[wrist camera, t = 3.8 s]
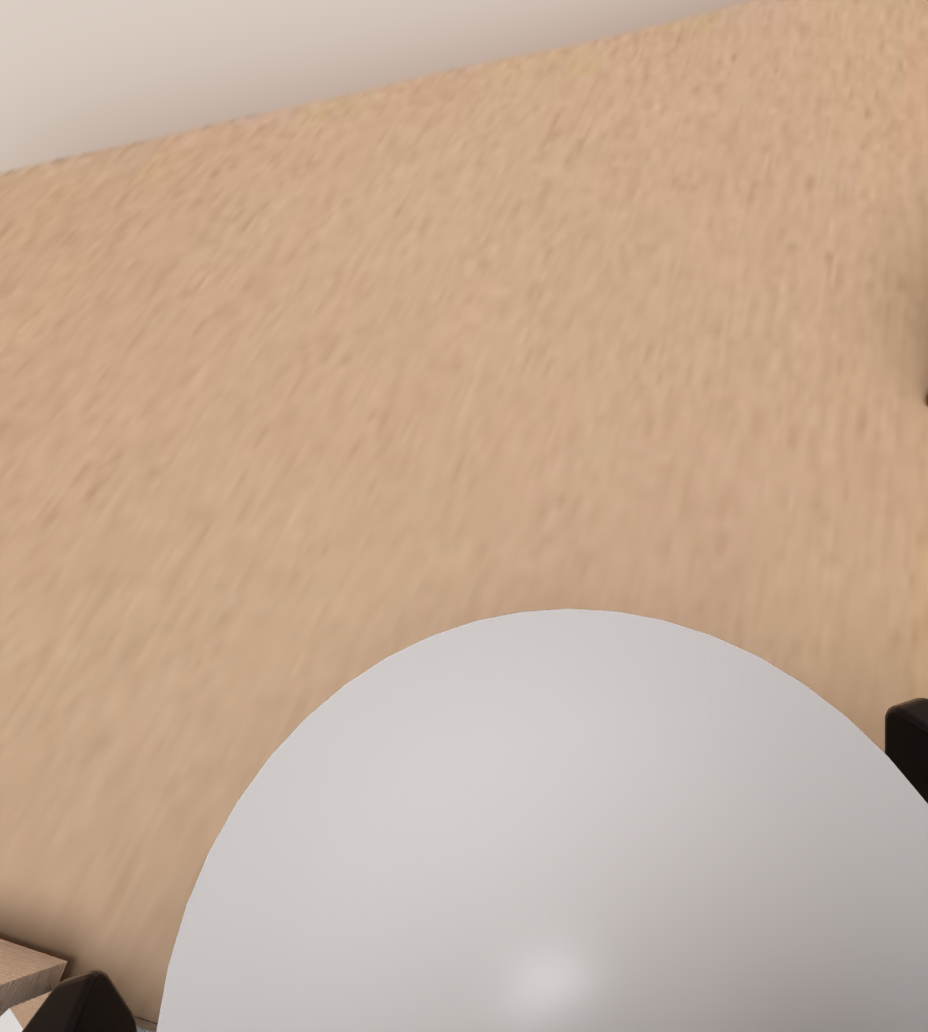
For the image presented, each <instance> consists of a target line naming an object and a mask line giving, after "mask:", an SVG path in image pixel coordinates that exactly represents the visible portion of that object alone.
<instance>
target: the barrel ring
mask: <svg viewBox="0 0 928 1032" xmlns="http://www.w3.org/2000/svg"><path fill="white" fill-rule="evenodd" d="M67 962H68V961H65V960H62V959H59V958H56V957H53V956H50V955H47V954H44V953H41V952H38V951H35V950H32V949H29V948H26V947H23V946H20V945H17V944H14V943H11V942H8V941H5V940H2V939H0V1032H22V1030H23V1029H24V1028H25V1026H26V1025H27V1024H28V1022H29V1021H30V1020H31V1018H32V1017H33V1016H34V1014H35V1013H36V1012H37V1010H38V1009H39V1007H40V1006H41V1005H42V1003H43V1002H44V1001H45V999H46V998H47V997H48V995H49V994H50V993H51V991H52V990H53V989H54V988H55V987H56V986H57V985H58V984H59V982H60V979H61V977H62V974H63V972H64V969H65V967H66V964H67ZM134 1019H135V1022H136V1027H137V1032H156V1030H157V1024H154V1023H151V1022H148V1021H145V1020H142V1019H139V1018H136V1017H134Z"/></svg>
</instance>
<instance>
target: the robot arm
mask: <svg viewBox="0 0 928 1032" xmlns="http://www.w3.org/2000/svg"><path fill="white" fill-rule="evenodd" d="M885 754H886V755H887V756H888V757H889V758H890V759H891V761H892V762H893V763H894V764H895V765H896V767H897V768H898V769H899V770H900V771H901V773H902V774H903V775H904V776H905V777H906V779H907V780H908V781H909V782H910V783H911V785H912V786H913V787H914V788H915V789H916V790H917V792H918V793H919V794H920V795H921V796H922V798H923V799H924V800H925V801H926V802H927V804H928V699H926V698H916V699H913V700H910V701H907V702H904V703H901V704H898V705H895V706H892V707H890V708H889V709H888V711H887V713H886V715H885ZM22 1032H137V1027H136V1022H135V1019H134V1016H133V1014H132V1012H131V1011H130V1009H129V1008H128V1006H127V1004H126V1003H125V1001H124V1000H123V998H122V997H121V995H120V994H119V992H118V991H117V989H116V987H115V986H114V984H113V983H112V981H111V980H110V978H109V977H108V975H107V974H106V973H105V972H103V971H101V970H92V971H89V972H86V973H83V974H80V975H77V976H74V977H71V978H68V979H65V980H63V981H62V982H60V983H59V984H58V985H57V986H56V987H55V988H54V989H53V990H52V991H51V993H50V994H49V995H48V997H47V998H46V999H45V1001H44V1002H43V1003H42V1005H41V1006H40V1007H39V1009H38V1010H37V1012H36V1013H35V1014H34V1016H33V1017H32V1018H31V1020H30V1021H29V1022H28V1024H27V1025H26V1026H25V1028H24V1029H23V1030H22Z"/></svg>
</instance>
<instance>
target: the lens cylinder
mask: <svg viewBox="0 0 928 1032" xmlns="http://www.w3.org/2000/svg"><path fill="white" fill-rule="evenodd" d="M156 1032H928V804H927V802H926V801H925V800H924V799H923V798H922V796H921V795H920V794H919V793H918V792H917V790H916V789H915V788H914V787H913V786H912V785H911V783H910V782H909V781H908V780H907V779H906V777H905V776H904V775H903V774H902V773H901V771H900V770H899V769H898V768H897V767H896V765H895V764H894V763H893V762H892V761H891V759H890V758H889V757H888V756H887V755H886V754H885V753H884V752H883V751H882V750H881V749H880V748H879V747H877V746H876V745H875V744H874V743H873V742H872V741H871V740H870V739H869V738H868V737H867V736H866V735H865V734H864V733H863V732H862V731H861V730H860V729H859V728H858V727H857V726H856V725H855V724H854V723H853V722H852V721H850V720H849V719H848V718H847V717H846V716H845V715H843V714H842V713H841V712H840V711H838V710H837V709H836V708H834V707H833V706H832V705H830V704H829V703H828V702H827V701H825V700H824V699H823V698H821V697H820V696H819V695H817V694H816V693H815V692H814V691H812V690H811V689H810V688H808V687H807V686H806V685H804V684H803V683H801V682H800V681H798V680H796V679H795V678H793V677H791V676H790V675H788V674H786V673H785V672H783V671H781V670H780V669H778V668H776V667H775V666H773V665H771V664H770V663H768V662H766V661H765V660H763V659H762V658H760V657H758V656H756V655H754V654H751V653H749V652H747V651H745V650H743V649H740V648H738V647H736V646H734V645H732V644H730V643H727V642H725V641H723V640H721V639H719V638H716V637H714V636H712V635H709V634H706V633H702V632H699V631H696V630H693V629H690V628H687V627H684V626H680V625H677V624H674V623H671V622H668V621H665V620H659V619H654V618H649V617H643V616H638V615H633V614H627V613H622V612H616V611H599V610H583V609H557V610H542V611H528V612H519V613H514V614H509V615H504V616H499V617H494V618H489V619H484V620H478V621H474V622H471V623H468V624H465V625H462V626H459V627H456V628H453V629H450V630H447V631H445V632H442V633H439V634H436V635H433V636H430V637H428V638H426V639H424V640H422V641H420V642H417V643H415V644H413V645H411V646H409V647H407V648H405V649H403V650H401V651H399V652H397V653H395V654H393V655H391V656H389V657H387V658H385V659H384V660H382V661H380V662H379V663H377V664H376V665H374V666H373V667H371V668H370V669H368V670H367V671H365V672H364V673H362V674H361V675H359V676H358V677H356V678H354V679H353V680H351V681H350V682H348V683H347V684H345V685H344V686H343V687H342V688H341V689H339V690H338V691H337V692H336V693H335V694H333V695H332V696H331V697H330V698H329V699H328V700H326V701H325V702H324V703H323V704H322V705H320V706H319V707H318V708H317V709H316V710H315V711H313V712H312V713H311V714H310V715H309V716H307V717H306V718H305V719H304V720H303V722H302V723H301V724H300V725H299V726H298V727H297V728H296V729H295V730H294V731H293V732H292V733H291V734H290V736H289V737H288V738H287V739H286V740H285V741H284V742H283V743H282V744H281V745H280V746H279V747H278V749H277V750H276V751H275V752H274V753H273V754H272V755H271V756H270V757H269V759H268V760H267V761H266V763H265V764H264V766H263V767H262V768H261V770H260V771H259V772H258V774H257V775H256V777H255V778H254V779H253V781H252V782H251V783H250V785H249V786H248V788H247V789H246V790H245V792H244V793H243V795H242V796H241V797H240V799H239V800H238V801H237V803H236V805H235V807H234V809H233V810H232V812H231V814H230V816H229V817H228V819H227V821H226V823H225V825H224V826H223V828H222V830H221V832H220V833H219V835H218V837H217V839H216V841H215V842H214V844H213V846H212V848H211V849H210V851H209V853H208V856H207V858H206V861H205V863H204V865H203V868H202V870H201V872H200V875H199V877H198V879H197V882H196V884H195V887H194V889H193V891H192V894H191V896H190V898H189V901H188V903H187V905H186V908H185V912H184V915H183V918H182V922H181V925H180V928H179V932H178V935H177V939H176V942H175V945H174V949H173V952H172V955H171V959H170V962H169V965H168V970H167V975H166V981H165V986H164V992H163V997H162V1003H161V1008H160V1014H159V1019H158V1025H157V1030H156Z"/></svg>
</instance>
